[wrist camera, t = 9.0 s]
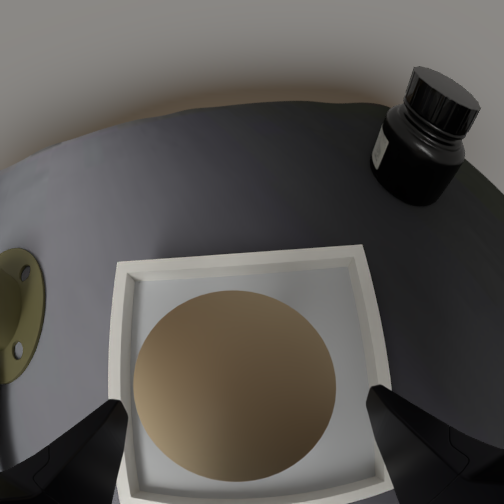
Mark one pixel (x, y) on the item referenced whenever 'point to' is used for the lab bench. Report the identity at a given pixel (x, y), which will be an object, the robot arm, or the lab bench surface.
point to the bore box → (319, 316)
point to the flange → (19, 311)
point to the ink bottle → (424, 138)
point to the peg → (234, 386)
